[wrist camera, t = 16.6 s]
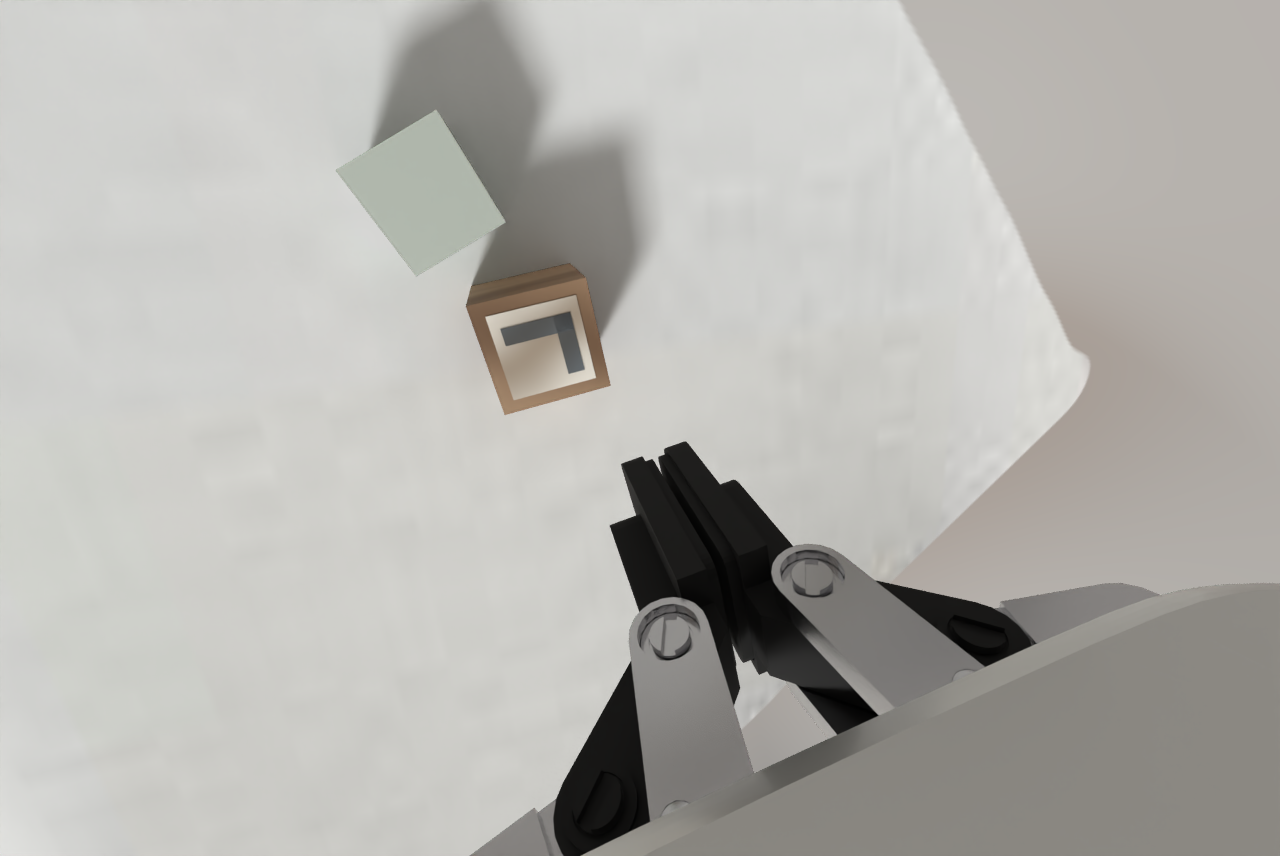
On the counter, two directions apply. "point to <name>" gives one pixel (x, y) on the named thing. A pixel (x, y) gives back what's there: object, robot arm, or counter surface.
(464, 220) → the sage block
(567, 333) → the walnut block
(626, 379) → the counter surface
